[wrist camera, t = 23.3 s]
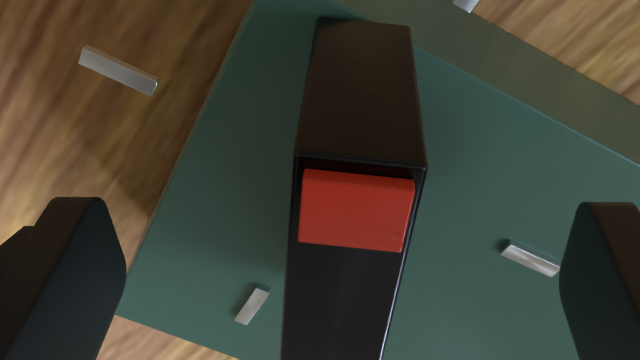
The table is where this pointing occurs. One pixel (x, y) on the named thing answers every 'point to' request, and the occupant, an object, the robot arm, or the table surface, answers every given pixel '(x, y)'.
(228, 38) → the table surface
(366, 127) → the black flat block
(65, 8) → the table surface
